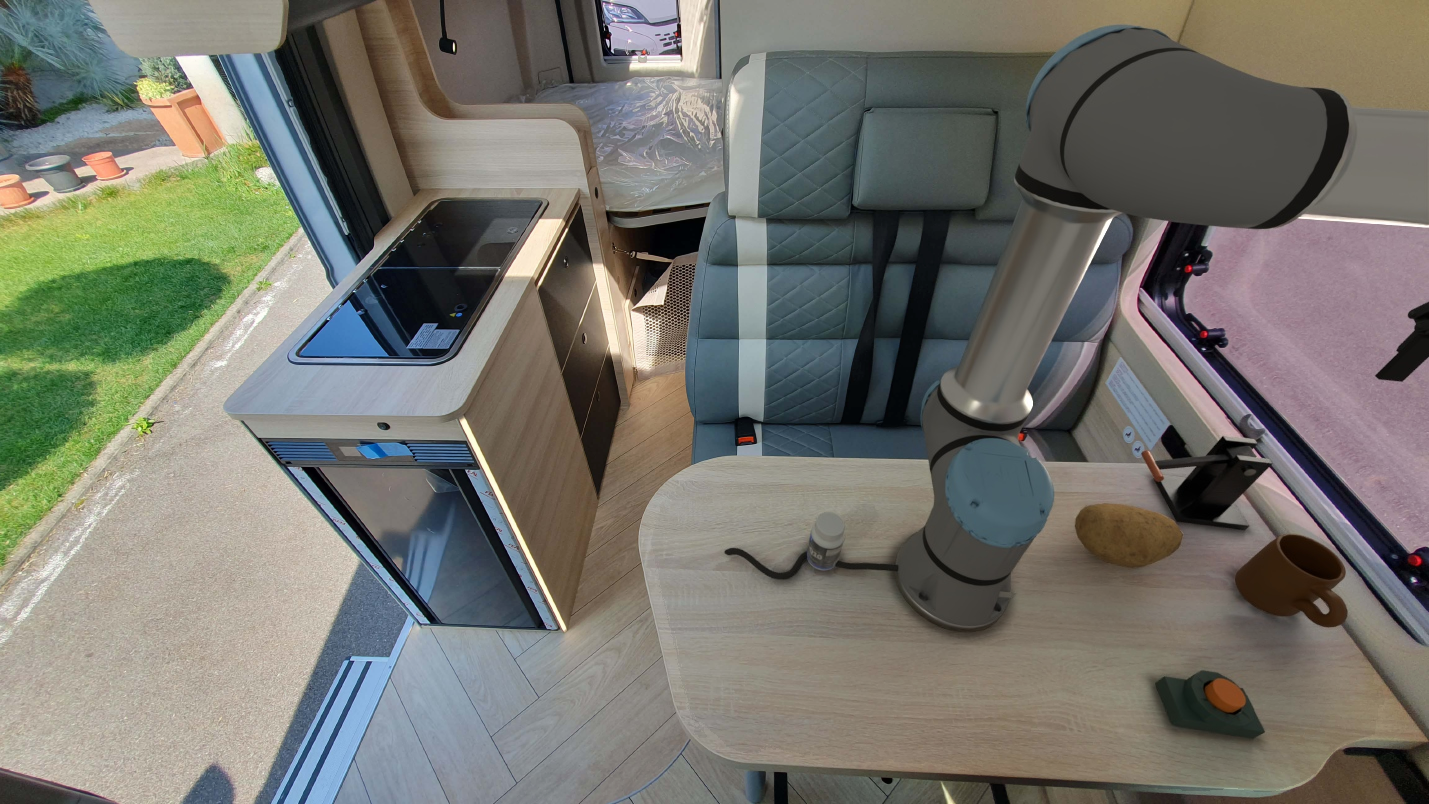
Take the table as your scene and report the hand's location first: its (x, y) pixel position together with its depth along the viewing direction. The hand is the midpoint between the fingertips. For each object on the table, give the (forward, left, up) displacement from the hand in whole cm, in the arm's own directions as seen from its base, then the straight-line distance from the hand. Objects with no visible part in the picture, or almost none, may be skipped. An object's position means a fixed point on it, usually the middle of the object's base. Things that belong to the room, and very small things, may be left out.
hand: (1428, 415), depth 68 cm
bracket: (-7, +8, -28) cm, 30 cm away
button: (-21, -26, -24) cm, 42 cm away
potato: (-24, -4, -28) cm, 37 cm away
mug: (-5, -10, -28) cm, 30 cm away
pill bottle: (-67, -12, -28) cm, 74 cm away
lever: (-12, +8, -20) cm, 24 cm away
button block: (-21, -26, -28) cm, 44 cm away
